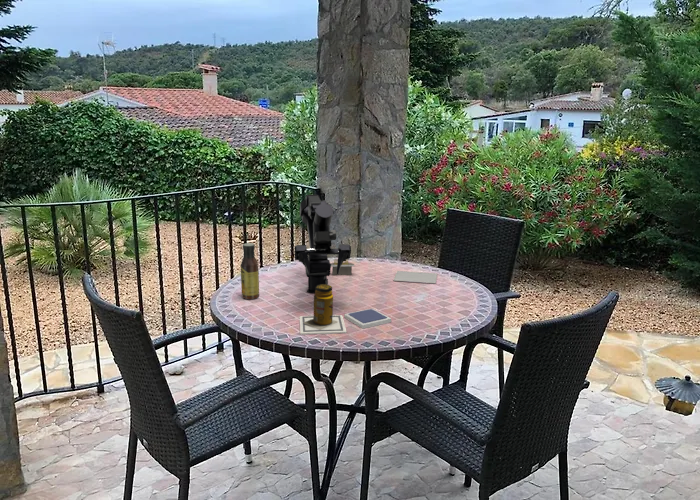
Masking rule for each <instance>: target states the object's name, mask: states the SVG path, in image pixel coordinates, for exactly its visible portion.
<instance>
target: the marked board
mask: <svg viewBox="0 0 700 500" xmlns="http://www.w3.org/2000/svg"><path fill="white" fill-rule="evenodd" d="M313 317H314V315H301V316H299V329H300V330H299V332H300V333H299V334H300V335H301V336H303V335H332V334H334V335H335V334H347V329H346V324H345V320H344V316H343V314H342V315H341V314H337V315H336V314H335V315H334V314H333V318H332V320H334V321H337V323H335V324H333V325H330V326H328V327H325V328H323V329H321V330H320V329H317V328H314V327H312V326H309V325H307V324H305V323H303V322H306V321H309V320H311V319H313Z"/></svg>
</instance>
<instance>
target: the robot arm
mask: <svg viewBox="0 0 700 500" xmlns="http://www.w3.org/2000/svg"><path fill="white" fill-rule="evenodd" d="M334 211H335V210H334V209H333V207H332V206H331V205H330V204H329V202H327V201H326V200H324V201H323V200H321V198H320V195H319V194H307V195H305V198H304V199H303V200H301V202H300V205H299V216H300V217H301V220H302V223H303V224H304V225H305V226H306V227H307V234H308V235H307V236H308V243H309V248H307V244H296V245H294V260H295V261H298V262H299V263H301V264H302V265H303V266H304V269H305V275H306V278H307V279H308V280H307V288H308V289H306V292H307V293H311V294H315V290H316V289H315V288H316V286H317V285H321V284H326V285H329V279H328V278H327V277H330V276H331V269H332V267H331V263H332V262H330V261H331V260H329V257H328V256H333V255H337V275H336V276H339V275H338V274H339V270H340V267H341V265H342V263H344V262H345V261H346V260H349V259H351V253H352V246H351V245H350V244H348V243H347V244H346V243H345V244H341V243H339V244H338V248H332V241H337V230H336V229H331V226H330V225H331V223H332V219H333V214H335V212H334ZM346 262H347V261H346Z"/></svg>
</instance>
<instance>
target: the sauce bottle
mask: <svg viewBox="0 0 700 500" xmlns="http://www.w3.org/2000/svg"><path fill="white" fill-rule="evenodd" d="M242 249H243V257H242V261H241V263H240V284H241V285H240V287H241V296H242V298H243V299H244V298H245V299H244V300H255V298H256V299H257V298H259V296H260V281H259V280H260V278H259V275H260V274H259V272H260V271H259V261H258V260H257V258H256V257H255V243H252V242H247V243H244V244H242Z"/></svg>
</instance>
